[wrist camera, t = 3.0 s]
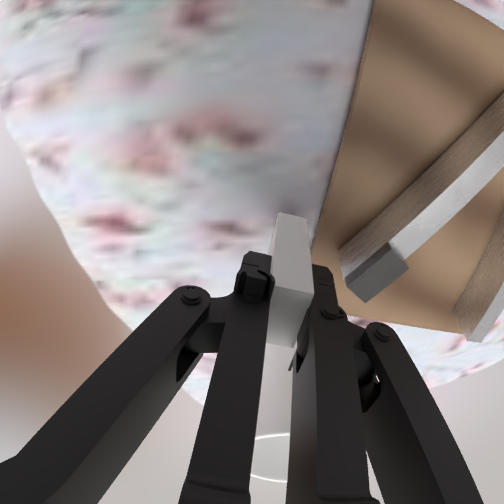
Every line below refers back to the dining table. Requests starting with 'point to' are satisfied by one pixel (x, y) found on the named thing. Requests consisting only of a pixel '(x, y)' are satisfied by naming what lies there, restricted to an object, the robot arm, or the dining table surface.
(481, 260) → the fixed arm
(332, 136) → the dining table surface
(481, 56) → the board
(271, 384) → the mug
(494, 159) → the light grey long bar
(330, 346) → the robot arm
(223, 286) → the dining table surface
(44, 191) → the dining table surface
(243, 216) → the dining table surface
